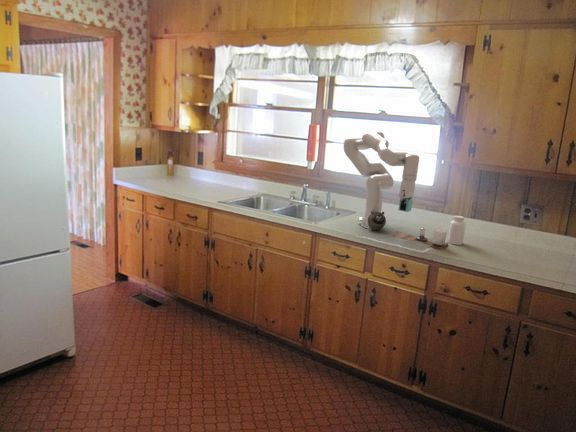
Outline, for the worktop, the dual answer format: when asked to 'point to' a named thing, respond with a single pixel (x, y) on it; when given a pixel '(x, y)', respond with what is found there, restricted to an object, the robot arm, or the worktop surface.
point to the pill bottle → (456, 230)
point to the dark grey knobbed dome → (421, 235)
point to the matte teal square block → (407, 205)
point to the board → (413, 238)
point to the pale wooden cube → (438, 238)
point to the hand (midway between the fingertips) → (404, 209)
